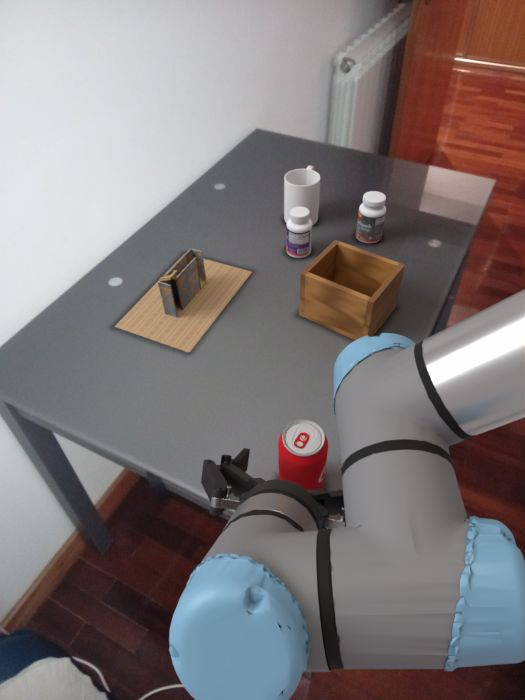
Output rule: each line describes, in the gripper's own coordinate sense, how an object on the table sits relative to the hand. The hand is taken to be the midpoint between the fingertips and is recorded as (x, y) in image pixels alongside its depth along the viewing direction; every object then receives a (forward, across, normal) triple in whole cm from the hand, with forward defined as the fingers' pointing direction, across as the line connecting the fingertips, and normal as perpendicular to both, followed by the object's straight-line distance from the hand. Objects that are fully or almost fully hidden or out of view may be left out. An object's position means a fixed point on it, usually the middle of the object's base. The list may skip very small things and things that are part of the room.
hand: (299, 468), depth 61 cm
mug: (+56, -10, +44) cm, 72 cm away
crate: (+34, +3, +22) cm, 40 cm away
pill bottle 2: (+52, +5, +40) cm, 65 cm away
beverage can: (+8, 0, -4) cm, 9 cm away
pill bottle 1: (+46, -9, +34) cm, 58 cm away
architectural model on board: (+33, -28, +20) cm, 48 cm away
